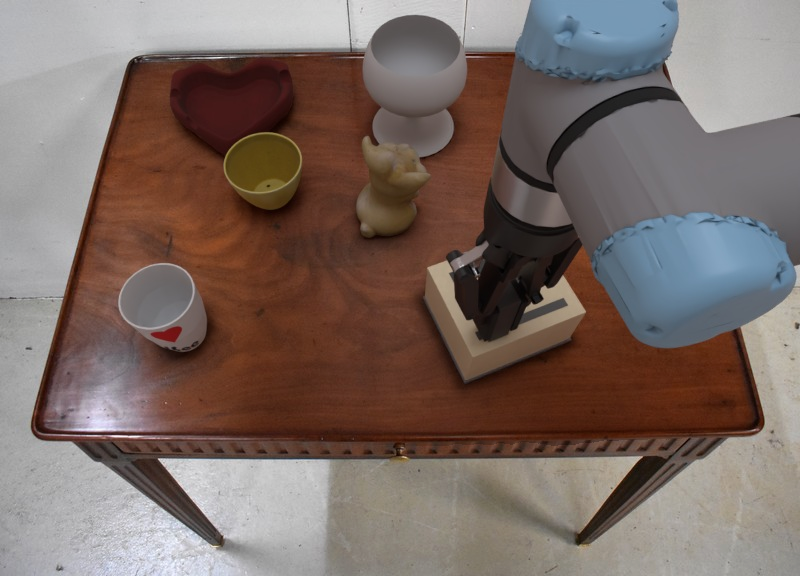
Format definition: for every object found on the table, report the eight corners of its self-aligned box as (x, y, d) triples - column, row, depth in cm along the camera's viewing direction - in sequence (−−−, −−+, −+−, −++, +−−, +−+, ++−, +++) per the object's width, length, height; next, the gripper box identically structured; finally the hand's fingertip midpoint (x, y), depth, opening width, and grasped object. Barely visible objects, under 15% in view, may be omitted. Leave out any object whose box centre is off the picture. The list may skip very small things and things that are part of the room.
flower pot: (323, 187, 84) (317, 153, 77) (278, 237, 80) (268, 205, 73) (268, 156, 86) (257, 121, 80) (221, 203, 82) (207, 170, 76)
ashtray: (174, 171, 85) (162, 147, 80) (180, 89, 92) (169, 63, 88) (299, 159, 86) (294, 134, 82) (294, 79, 94) (289, 53, 89)
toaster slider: (508, 334, 64) (521, 301, 57) (488, 342, 63) (499, 309, 56) (498, 316, 65) (510, 280, 58) (478, 323, 65) (488, 289, 57)
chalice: (462, 97, 92) (473, 12, 78) (456, 168, 85) (467, 88, 72) (372, 90, 92) (368, 4, 79) (360, 160, 86) (353, 79, 73)
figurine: (431, 197, 83) (438, 119, 70) (424, 248, 79) (430, 176, 66) (362, 189, 83) (355, 111, 70) (352, 240, 79) (343, 167, 66)
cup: (141, 355, 72) (104, 320, 63) (169, 297, 75) (138, 256, 66) (203, 370, 71) (176, 336, 62) (229, 310, 74) (206, 271, 66)
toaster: (570, 341, 73) (589, 312, 65) (464, 384, 70) (471, 359, 63) (522, 260, 78) (535, 226, 71) (422, 298, 75) (424, 266, 68)
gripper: (606, 120, 45) (541, 271, 66) (421, 182, 43) (414, 320, 63) (663, 192, 42) (576, 328, 63) (467, 265, 39) (443, 382, 60)
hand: (495, 324), depth 63 cm, fingers closed on toaster slider, 2 cm apart
